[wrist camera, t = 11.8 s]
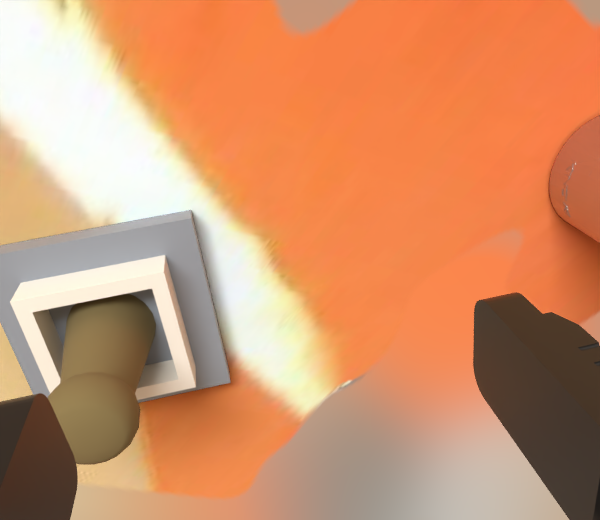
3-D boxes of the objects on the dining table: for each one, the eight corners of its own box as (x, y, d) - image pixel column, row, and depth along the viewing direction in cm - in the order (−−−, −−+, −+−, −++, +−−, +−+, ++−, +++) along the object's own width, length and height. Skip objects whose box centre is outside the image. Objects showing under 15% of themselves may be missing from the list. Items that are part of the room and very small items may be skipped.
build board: (191, 210, 38) (191, 233, 34) (229, 370, 44) (232, 404, 41) (-21, 249, 37) (-43, 277, 33) (50, 409, 43) (38, 447, 40)
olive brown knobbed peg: (128, 374, 41) (109, 495, 31) (49, 339, 39) (3, 459, 29) (172, 315, 40) (167, 423, 30) (93, 274, 37) (60, 378, 27)
